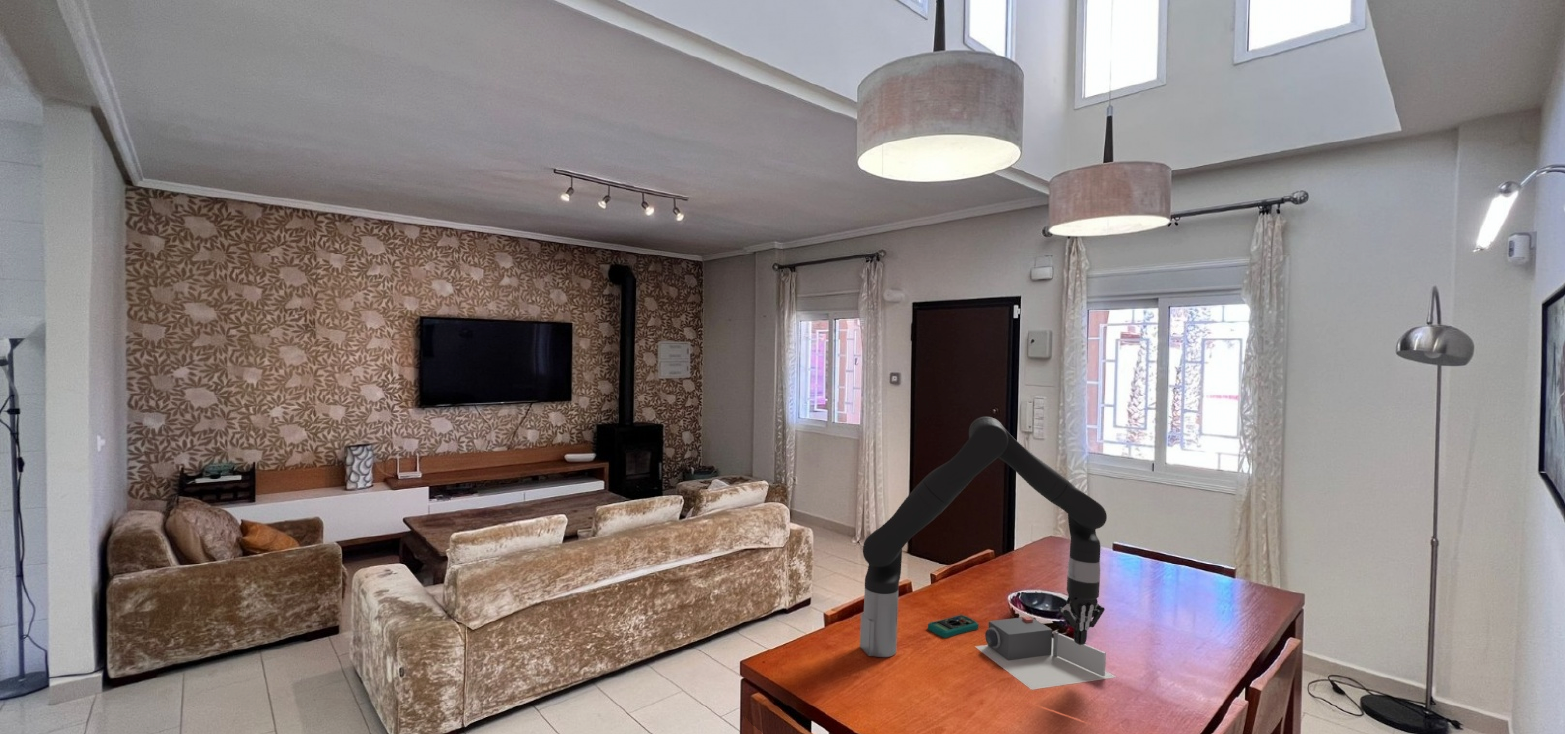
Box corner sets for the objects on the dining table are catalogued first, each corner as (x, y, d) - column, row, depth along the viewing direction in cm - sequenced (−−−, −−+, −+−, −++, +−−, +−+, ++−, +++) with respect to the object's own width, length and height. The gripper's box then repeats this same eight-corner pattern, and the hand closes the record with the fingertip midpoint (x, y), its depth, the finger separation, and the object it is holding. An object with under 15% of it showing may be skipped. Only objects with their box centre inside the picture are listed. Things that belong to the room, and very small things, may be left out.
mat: (1031, 691, 156) (1031, 689, 156) (974, 647, 179) (974, 646, 179) (1116, 678, 164) (1116, 677, 164) (1051, 638, 187) (1051, 637, 187)
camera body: (1003, 661, 171) (1004, 632, 171) (983, 646, 179) (984, 618, 179) (1051, 654, 175) (1052, 626, 175) (1029, 640, 184) (1030, 613, 184)
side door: (1051, 654, 175) (1052, 631, 175) (1055, 653, 176) (1056, 630, 176) (1102, 677, 163) (1103, 653, 163) (1106, 676, 164) (1107, 651, 164)
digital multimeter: (980, 631, 192) (980, 621, 192) (944, 641, 184) (944, 631, 184) (961, 622, 198) (961, 612, 198) (926, 631, 190) (926, 621, 190)
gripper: (1073, 583, 157) (1069, 652, 158) (1115, 579, 161) (1112, 647, 162) (1051, 572, 165) (1048, 639, 165) (1093, 569, 169) (1089, 634, 169)
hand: (1079, 643), depth 163 cm, fingers closed
